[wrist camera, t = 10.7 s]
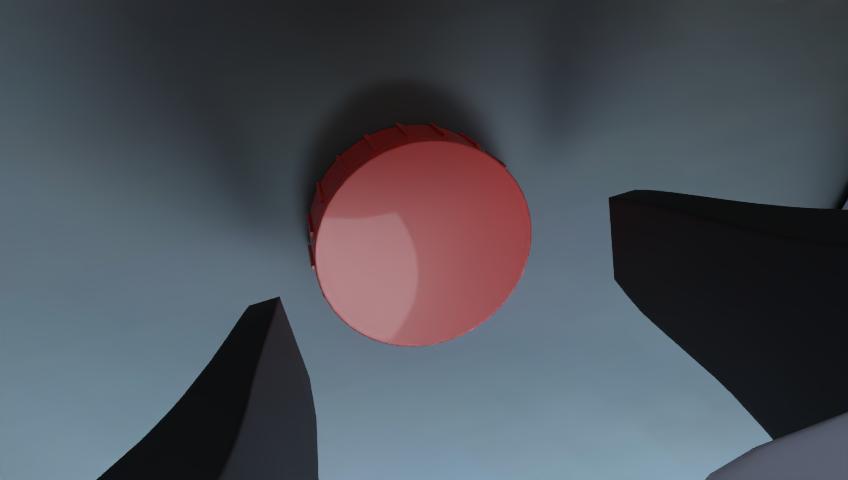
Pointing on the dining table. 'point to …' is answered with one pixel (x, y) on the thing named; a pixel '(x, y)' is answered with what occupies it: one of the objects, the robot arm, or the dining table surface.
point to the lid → (417, 235)
